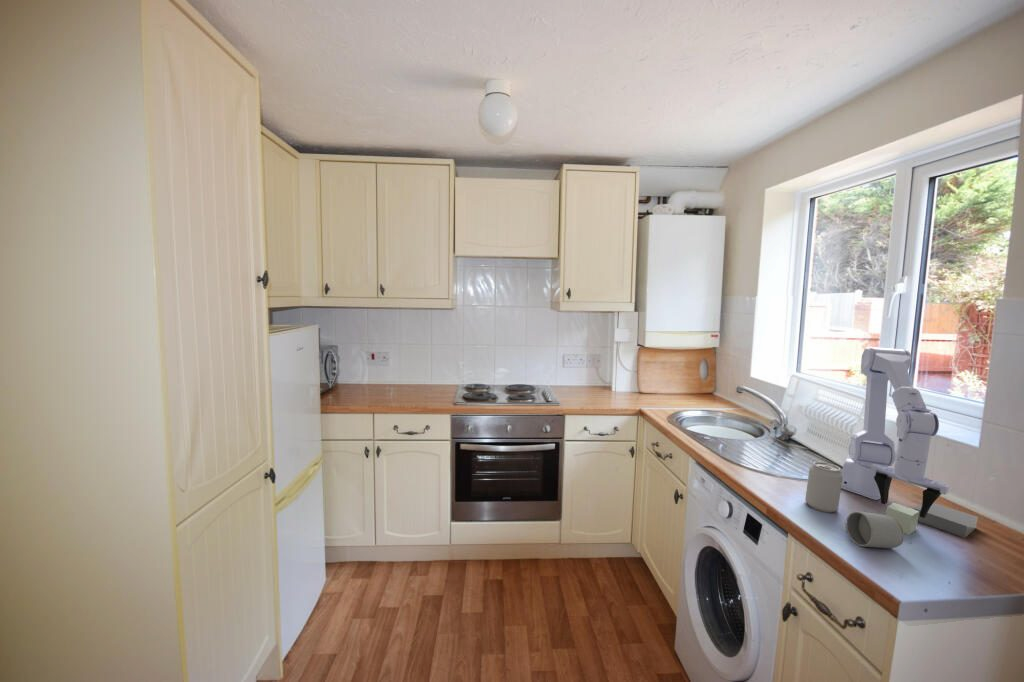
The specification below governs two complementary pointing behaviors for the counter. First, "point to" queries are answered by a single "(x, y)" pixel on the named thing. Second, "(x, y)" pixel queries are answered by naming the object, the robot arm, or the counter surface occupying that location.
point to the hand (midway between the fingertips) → (902, 509)
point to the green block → (903, 517)
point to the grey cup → (874, 530)
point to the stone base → (948, 519)
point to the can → (824, 486)
